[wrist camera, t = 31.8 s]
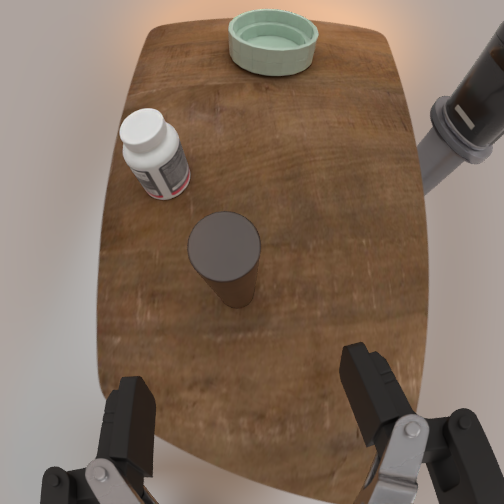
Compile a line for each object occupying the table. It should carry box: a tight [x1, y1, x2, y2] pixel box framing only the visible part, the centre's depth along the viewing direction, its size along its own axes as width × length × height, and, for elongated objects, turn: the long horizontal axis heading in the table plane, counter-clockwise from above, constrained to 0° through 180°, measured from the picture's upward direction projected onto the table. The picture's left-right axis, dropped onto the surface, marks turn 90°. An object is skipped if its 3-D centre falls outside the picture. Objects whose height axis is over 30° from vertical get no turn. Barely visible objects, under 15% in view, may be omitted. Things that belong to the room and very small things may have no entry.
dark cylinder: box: [187, 211, 261, 308], centre depth 21 cm, size 3×3×16 cm
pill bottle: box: [120, 108, 190, 200], centre depth 27 cm, size 5×5×10 cm
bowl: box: [228, 9, 319, 76], centre depth 34 cm, size 12×12×6 cm
